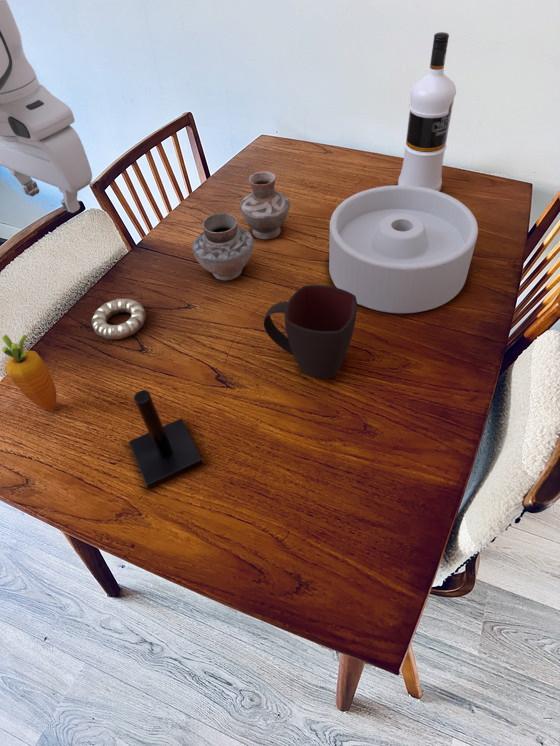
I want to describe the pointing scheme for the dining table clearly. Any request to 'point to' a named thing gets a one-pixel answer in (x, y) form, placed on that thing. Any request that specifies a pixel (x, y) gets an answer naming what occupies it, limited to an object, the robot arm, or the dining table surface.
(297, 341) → the cup
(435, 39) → the vodka
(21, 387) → the carrot
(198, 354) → the dining table surface
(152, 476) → the peg stand
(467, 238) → the container
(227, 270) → the pottery
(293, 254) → the dining table surface
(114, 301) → the ring
